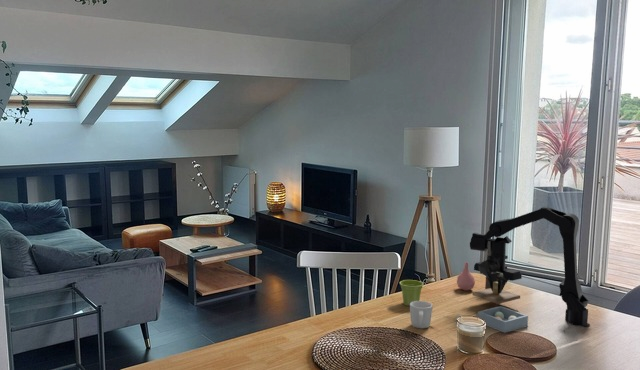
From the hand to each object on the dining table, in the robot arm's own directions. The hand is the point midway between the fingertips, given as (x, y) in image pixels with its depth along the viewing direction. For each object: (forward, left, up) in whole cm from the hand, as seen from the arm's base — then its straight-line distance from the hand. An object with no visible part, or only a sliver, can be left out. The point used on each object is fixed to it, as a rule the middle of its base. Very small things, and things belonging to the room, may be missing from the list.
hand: (496, 292), depth 207 cm
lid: (0, 0, -2) cm, 2 cm away
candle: (+15, -17, -7) cm, 24 cm away
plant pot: (+21, +25, -7) cm, 33 cm away
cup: (0, +39, -7) cm, 40 cm away
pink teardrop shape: (+23, -8, -7) cm, 25 cm away
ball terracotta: (-14, +16, -6) cm, 22 cm away
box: (-14, +13, -7) cm, 20 cm away
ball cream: (-16, +11, -6) cm, 20 cm away
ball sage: (-11, +11, -6) cm, 17 cm away
